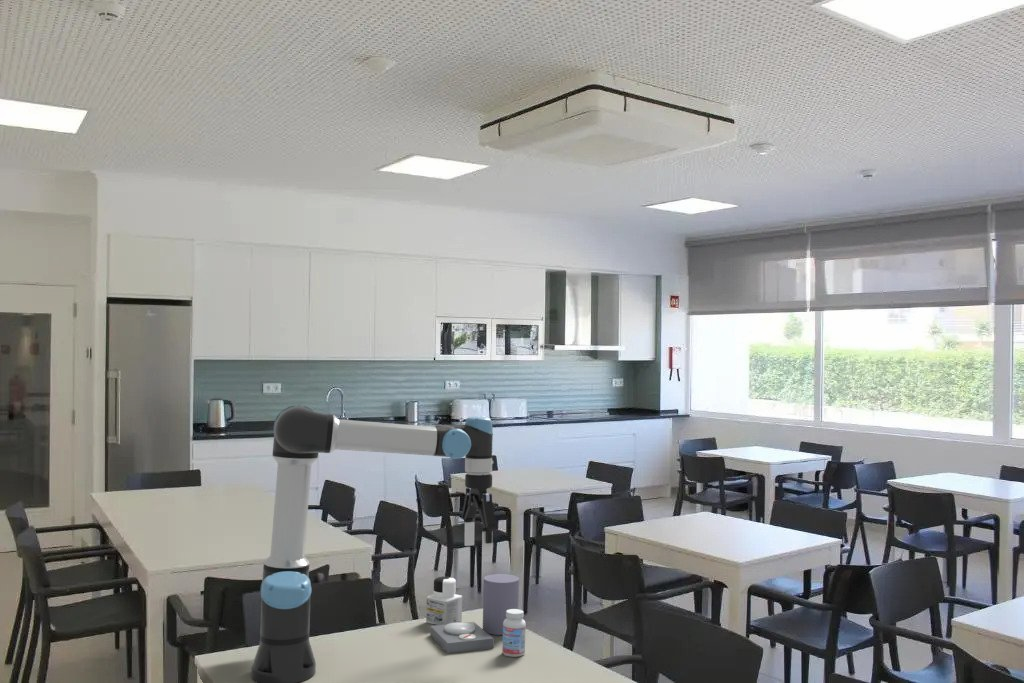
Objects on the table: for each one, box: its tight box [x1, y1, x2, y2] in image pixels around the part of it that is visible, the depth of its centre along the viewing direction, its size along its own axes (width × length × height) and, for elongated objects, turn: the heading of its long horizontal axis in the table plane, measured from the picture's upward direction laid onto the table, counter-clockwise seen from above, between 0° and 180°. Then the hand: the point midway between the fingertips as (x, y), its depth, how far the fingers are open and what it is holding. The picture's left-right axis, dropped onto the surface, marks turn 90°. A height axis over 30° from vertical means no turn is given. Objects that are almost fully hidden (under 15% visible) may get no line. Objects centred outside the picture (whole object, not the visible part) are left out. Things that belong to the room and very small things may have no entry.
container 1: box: [425, 576, 463, 626], centre depth 253 cm, size 8×8×13 cm
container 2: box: [482, 573, 520, 637], centre depth 245 cm, size 10×10×15 cm
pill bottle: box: [501, 609, 527, 658], centre depth 225 cm, size 6×6×11 cm
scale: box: [429, 621, 494, 654], centre depth 234 cm, size 13×16×4 cm
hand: (478, 550), depth 235 cm, fingers open, 13 cm apart
